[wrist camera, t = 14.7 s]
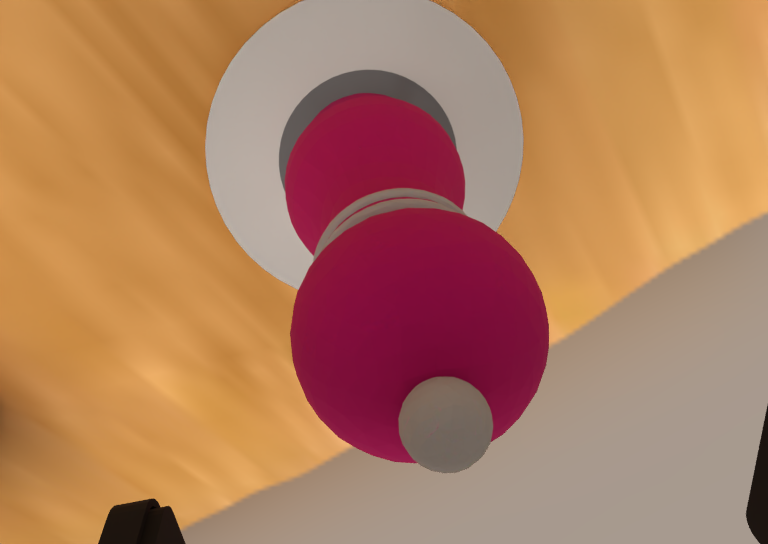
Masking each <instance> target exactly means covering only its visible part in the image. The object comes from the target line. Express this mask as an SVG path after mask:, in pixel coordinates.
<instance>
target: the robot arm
mask: <svg viewBox="0 0 768 544" xmlns="http://www.w3.org/2000/svg"><path fill="white" fill-rule="evenodd" d="M746 518H747V522H748V525H749V528H750V529H751V532H752V534H753V535H754V536H755V538H756V539H757V540H758V542H759V543H760V544H768V406H767V411H766V416H765V421H764V426H763V431H762V436H761V440H760V445H759V450H758V455H757V460H756V466H755V470H754V476H753V481H752V485H751V490H750V495H749V500H748V506H747V511H746ZM98 544H185V541H184V539H183V536H182V534H181V531H180V528H179V526H178V523H177V521H176V518H175V515H174V513H173V511H172V509H171V507H169V506H166V507H161V508H160V505H159V503H158V502H157V501H156V500H155V499H148V500H143V501H137V502H132V503H127V504H121V505H116V506H114V507H113V508H112V509H111V510H110V512H109V514H108V517H107V520H106V523H105V525H104V528H103V531H102V534H101V537H100V540H99V543H98Z"/></svg>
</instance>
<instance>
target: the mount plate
mask: <svg viewBox="0 0 768 544" xmlns="http://www.w3.org/2000/svg"><path fill="white" fill-rule="evenodd" d="M357 93H374V94H382V95H386V96H389V97H392V98H395V99H400V100H403V101H406V102H408V103H410V104H413V105H415V106H417V107H419V108H421V109H422V110H424V111H425V112H427V113H428V114H430V115H431V116H432V117H433V118H434V119H435V120H436V121H437V122H438V123H440V125H441V126H442V127H443V128H444V130H445V131H446V132H447V134H448V135H449V137H450V139H451V140H452V142H453V144H454V146H455V148H456V150H457V152H458V154H459V157H460V160H461V163H462V166H463V170H464V176H465V200H464V205H463V212H464V213H465V214H466V215H467V216H468V217H470V218H473V219H475V220H478V221H480V222H482V223H484V224H486V225H487V226H488V227H490V228H491V229H492V230H494V231H495V232H496V231H497V229H498V227H499V226H500V224H501V222H502V221H503V219H504V217H505V216H506V214H507V211H508V209H509V207H510V204H511V202H512V200H513V198H514V195H515V191H516V188H517V185H518V181H519V178H520V172H521V166H522V160H523V128H522V118H521V113H520V109H519V104H518V100H517V97H516V94H515V91H514V89H513V86H512V83H511V81H510V78H509V76H508V74H507V73H506V71H505V69H504V67H503V65H502V63H501V61H500V60H499V58H498V57H497V56H496V54H495V53H494V51H493V50H492V49H491V47H490V46H489V45H488V43H487V42H486V41H485V40H484V39H483V38H482V37H481V36H480V35H479V34H478V33H477V32H476V31H475V30H474V29H473V28H472V27H471V26H470V25H468V24H467V23H466V22H465V21H463V20H462V19H461V18H459V17H458V16H457V15H455V14H454V13H452V12H451V11H449V10H447V9H445V8H443V7H442V6H440V5H438V4H436V3H434V2H432V1H429V0H303V1H300V2H298V3H296V4H295V5H293V6H291V7H289V8H287V9H285V10H284V11H282V12H280V13H279V14H277V15H276V16H275V17H273V18H272V19H271V20H269V21H268V22H267V23H265V24H264V25H263V26H262V27H261V28H260V29H259V30H258V31H257V32H256V33H255V34H254V35H253V36H252V37H251V38H250V39H249V40H248V41H247V42H246V43H245V44H244V45H243V46H242V48H241V49H240V50H239V52H238V53H237V54H236V56H235V57H234V58H233V60H232V61H231V63H230V64H229V66H228V68H227V70H226V72H225V73H224V75H223V77H222V79H221V81H220V83H219V86H218V88H217V91H216V93H215V96H214V99H213V101H212V105H211V109H210V114H209V118H208V122H207V131H206V143H205V149H206V167H207V172H208V178H209V183H210V188H211V191H212V194H213V197H214V200H215V203H216V206H217V208H218V210H219V212H220V214H221V216H222V218H223V221H224V223H225V225H226V226H227V228H228V229H229V231H230V232H231V234H232V235H233V237H234V238H235V240H236V241H237V242H238V244H239V245H240V246H241V247H242V248H243V249H244V251H245V252H246V253H247V254H248V255H249V256H250V257H251V258H252V259H253V260H254V261H255V262H256V263H257V264H259V265H260V266H261V267H262V268H263V269H264V270H266V271H267V272H269V273H270V274H271V275H273V276H274V277H276V278H277V279H279V280H280V281H282V282H284V283H286V284H288V285H290V286H292V287H294V288H295V289H298V290H299V288H300V286H301V284H302V282H303V280H304V278H305V276H306V273H307V271H308V269H309V267H310V266H311V265H312V263H313V259H314V256H313V255H312V254H311V253H310V252H309V250H308V249H307V248H306V247H305V245H304V244H303V242H302V241H301V240H300V238H299V237H298V235H297V233H296V231H295V229H294V227H293V225H292V223H291V220H290V216H289V213H288V209H287V203H286V196H285V174H286V167H287V163H288V160H289V157H290V153H291V151H292V149H293V147H294V145H295V143H296V141H297V139H298V138H299V136H300V135H301V134H302V132H303V131H304V130H305V128H306V127H307V126H308V125H309V124H310V123H311V122H312V120H313V119H314V118H315V117H316V116H317V115H318V113H319V112H320V111H321V110H323V109H324V108H325V107H326V106H328V105H329V104H330V103H332V102H334V101H336V100H338V99H340V98H343V97H346V96H349V95H353V94H357Z"/></svg>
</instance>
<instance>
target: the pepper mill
mask: <svg viewBox="0 0 768 544" xmlns="http://www.w3.org/2000/svg"><path fill="white" fill-rule="evenodd" d="M285 196H286V203H287V209H288V213H289V216H290V220H291V223H292V225H293V227H294V229H295V231H296V233H297V235H298V237H299V238H300V240H301V241H302V242H303V244H304V245H305V247H306V248H307V249H308V250H309V252H310V253H311V254H312V255H313V256H314V259H313V263H312V265H311V266H310V267H309V269H308V271H307V273H306V276H305V278H304V280H303V282H302V284H301V286H300V288H299V290H298V292H297V296H296V300H295V304H294V310H293V317H292V324H291V331H290V337H291V346H292V356H293V363H294V367H295V370H296V374H297V377H298V379H299V382H300V384H301V386H302V389H303V391H304V393H305V396H306V398H307V401H308V402H309V404H310V405H311V406H312V408H313V409H314V411H315V412H316V414H317V415H318V417H319V418H320V419H321V420H322V421H323V422H324V423H325V424H326V425H327V426H328V427H329V428H330V429H331V430H332V431H333V432H334V433H335V434H336V435H337V436H338V437H339V438H341V439H342V440H344V441H346V442H347V443H349V444H351V445H352V446H354V447H356V448H357V449H359V450H362V451H364V452H366V453H368V454H370V455H373V456H376V457H380V458H383V459H387V460H390V461H394V462H405V463H418V464H420V465H421V466H423V467H425V468H427V469H429V470H431V471H435V472H441V473H455V472H459V471H462V470H465V469H467V468H469V467H470V466H471V465H473V464H474V463H475V462H476V461H478V460H479V459H480V458H481V457H482V456H483V455H484V453H485V452H486V450H487V448H488V446H489V445H490V442H492V441H493V440H495V439H496V438H498V437H500V436H501V435H503V434H504V433H505V432H506V430H508V429H509V428H510V427H511V426H512V425H513V424H514V423H515V422H516V420H518V419H519V418H520V416H521V415H522V413H523V412H524V410H525V409H526V407H527V406H528V404H529V403H530V401H531V400H532V398H533V397H534V395H535V393H536V392H537V389H538V386H539V383H540V381H541V378H542V375H543V372H544V369H545V366H546V362H547V355H548V349H549V324H548V318H547V312H546V307H545V303H544V300H543V296H542V292H541V290H540V288H539V286H538V284H537V282H536V279H535V277H534V275H533V274H532V272H531V271H530V269H529V267H528V266H527V264H526V263H525V261H524V260H523V258H522V257H521V255H520V254H519V253H518V252H517V251H516V250H515V249H514V248H513V247H512V246H511V245H510V244H509V243H508V242H507V241H506V240H505V239H504V238H503V237H502V236H501V235H499V234H498V233H497V232H495V231H494V230H492V229H491V228H490V227H488V226H487V225H486V224H484V223H482V222H480V221H478V220H475V219H473V218H470V217H468V216H467V215H466V214H465V213H464V212H463V205H464V200H465V176H464V170H463V166H462V163H461V160H460V157H459V154H458V152H457V150H456V148H455V146H454V144H453V142H452V140H451V139H450V137H449V135H448V134H447V132H446V131H445V130H444V128H443V127H442V126H441V125H440V123H438V122H437V121H436V120H435V119H434V118H433V117H432V116H431V115H430V114H428V113H427V112H425V111H424V110H422V109H421V108H419V107H417V106H415V105H413V104H410V103H408V102H406V101H403V100H400V99H395V98H392V97H389V96H386V95H382V94H374V93H357V94H353V95H349V96H346V97H343V98H340V99H338V100H336V101H334V102H332V103H330V104H329V105H328V106H326V107H325V108H324V109H323V110H321V111H320V112H319V113H318V115H317V116H316V117H315V118H314V119H313V120H312V122H311V123H310V124H309V125H308V126H307V127H306V128H305V130H304V131H303V132H302V134H301V135H300V136H299V138H298V139H297V141H296V143H295V145H294V147H293V149H292V151H291V153H290V157H289V160H288V163H287V167H286V174H285Z"/></svg>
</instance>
